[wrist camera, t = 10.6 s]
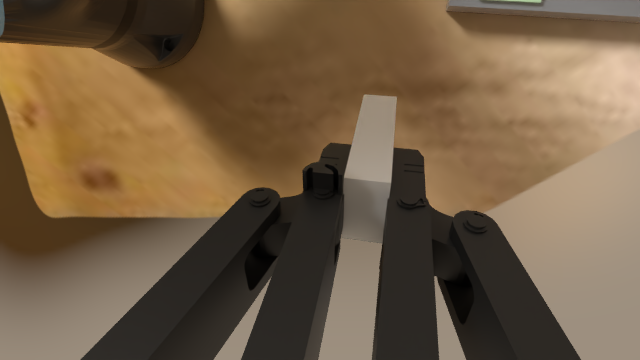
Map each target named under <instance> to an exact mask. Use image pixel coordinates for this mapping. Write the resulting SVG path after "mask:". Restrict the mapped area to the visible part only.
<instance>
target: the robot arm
mask: <svg viewBox="0 0 640 360" xmlns="http://www.w3.org/2000/svg"><path fill="white" fill-rule="evenodd" d="M203 13H204V0H0V42H5V43H20V44H36V45H51V46H66V47H80V48H92V49H94V50H96V51H98V52H100V53H102V54H104V55H107V56H109V57H111V58H113V59H115V60H117V61H119V62H121V63H123V64H126V65H129V66H133V67H138V68H161V67H166V66H169V65H171V64H173V63H175V62H177V61H179V60H180V59H181V58H183V57H184V56H185V55H186V54H187V53H188V51H189V50H190V49H191V48H192V46H193V45H194V43H195V41H196V39H197V37H198V35H199V32H200V29H201V25H202V21H203ZM396 104H397V97H395V96H380V95H366V94H364V96H363V101H362V105H361V109H360V113H359V117H358V121H357V125H356V129H355V133H354V138H353V142H352V145H348V144H338V143H330V144H329V145H327V146H326V147H325V148H324V149H323V151H322V154H321V158H320V160H319V162H316V163H311V164H310V165H308V166H306V167H305V168H304V170H303V193H302V194H299V195H296V196H292V197H284V198H280V197H279V194H278V193H277V192H276V191H274V190H272V189H270V188H255V189H252V190H250V191H248V192H246V193H245V194H244V195H243V196H242V197H241V198H240V199H239V200H238V201H237V202H236V203H235V204H234V205H233V206H232V207H231V208H230V209H229V210H228V211H227V212H226V213H225V214H224V215H223V216H222V217H221V218H220V219H219V220H218V221H217V222H216V223H215V224H214V225H213V226H212V227H211V228H210V229H209V230H208V231H207V232H206V233H205V234H204V235H203V236H202V237H201V238H200V239H199V240H198V241H197V242H196V243H195V244H194V245H193V246H192V247H191V248H190V249H189V250H188V251H187V252H186V253H185V255H183V256H182V257H181V258H180V259H179V261H177V263H175V264H174V265H173V267H172V268H171V269H170V270H169V271H168V272H167V273H166V274H165V275H164V276H163V277H162V278H161V279H160V280H159V281H158V282H157V283H156V284H155V285H154V286H153V287H152V288H151V289H150V290H149V291H148V292H147V293H146V294H145V295H144V296H143V297H142V298H141V299H140V300H139V301H138V302H137V303H136V304H135V305H134V306H133V307H132V308H131V309H130V310H129V311H128V312H127V313H126V314H125V315H124V316H123V317H122V318H121V319H120V320H119V321H118V323H116V324H115V325H114V326H113V327H112V328H111V329H110V330H109V331H108V332H107V333H106V335H104V336H103V338H101V339H100V340H99V342H98V343H97V344H95V346H94V347H93V348H92V349H91V350H90V351H89V352H88V353H87V354H86V355H85V356H84V357H83V358H82V359H81V360H213V359H214V358H215V357H216V355H217V354H218V352H219V351H220V349H221V348H222V347H223V345H224V344H225V342H226V341H227V339H228V338H229V336H230V335H231V334H232V332H233V331H234V329H235V328H236V326H237V325H238V324H239V322H240V321H241V319H242V318H243V316H244V315H245V313H246V312H247V311H248V309H249V308H250V306H251V305H252V303H253V302H254V301H255V299H256V298H257V296H258V295H259V293H260V292H261V290H262V289H263V288H264V286H265V285H266V283H267V282H268V280H269V279H270V278H271V280H270V283H269V286H268V288H267V291H266V294H265V296H264V299H263V302H262V305H261V307H260V310H259V313H258V315H257V318H256V321H255V323H254V326H253V329H252V332H251V334H250V337H249V340H248V342H247V345H246V348H245V351H244V353H243V356H242V359H241V360H318V357H319V352H320V347H321V342H322V337H323V332H324V326H325V322H326V317H327V312H328V307H329V302H330V297H331V292H332V287H333V281H334V277H335V272H336V266H337V262H338V257H339V252H340V238H341V234H342V238H347V239H354V240H361V241H368V242H376V243H382V251H381V258H380V266H379V269H380V272H379V283H378V296H377V307H376V318H375V329H374V342H373V353H372V360H439V351H438V335H437V318H436V303H435V285H434V276H437V279H438V283H439V286H440V289H441V292H442V294H443V297H444V300H445V303H446V305H447V308H448V311H449V314H450V316H451V319H452V322H453V325H454V327H455V330H456V333H457V335H458V338H459V341H460V343H461V346H462V349H463V352H464V355H465V357H466V360H581V359H580V357H579V356H578V354H577V353H576V351H575V349H574V348H573V346H572V344H571V343H570V341H569V340H568V338H567V336H566V335H565V333H564V331H563V330H562V328H561V327H560V325H559V323H558V322H557V320H556V318H555V317H554V315H553V314H552V312H551V310H550V309H549V307H548V306H547V304H546V302H545V301H544V299H543V297H542V296H541V294H540V293H539V291H538V289H537V288H536V286H535V285H534V283H533V281H532V280H531V278H530V276H529V275H528V273H527V272H526V270H525V268H524V267H523V265H522V264H521V262H520V260H519V259H518V257H517V256H516V254H515V252H514V251H513V249H512V247H511V246H510V244H509V243H508V241H507V239H506V238H505V236H504V235H503V233H502V231H501V230H500V228H499V227H498V225H497V223H496V222H495V221H494V220H493V219H492V218H490V217H489V216H487V215H485V214H483V213H480V212H477V211H469V210H467V211H461V212H459V213H457V214H456V215H455V216H454V217H451V216H448V215H445V214H443V213H440V212H438V211H437V210H435V209H434V208H432V207H431V206H430V205H429V202H428V200H427V199H426V191H425V174H424V157H423V156H422V155H421V153H420V152H419V151H418V150H412V149H401V148H394V133H395V119H396ZM271 276H272V277H271Z"/></svg>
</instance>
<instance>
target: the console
mask: <svg viewBox="0 0 640 360" xmlns="http://www.w3.org/2000/svg"><path fill="white" fill-rule="evenodd" d="M446 11H455V12H472V13H488V14H504V15H520V16H536V17H552V18H568V19H584V20H600V21H616V22H633V23H640V0H448V2H447V7H446Z"/></svg>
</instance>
